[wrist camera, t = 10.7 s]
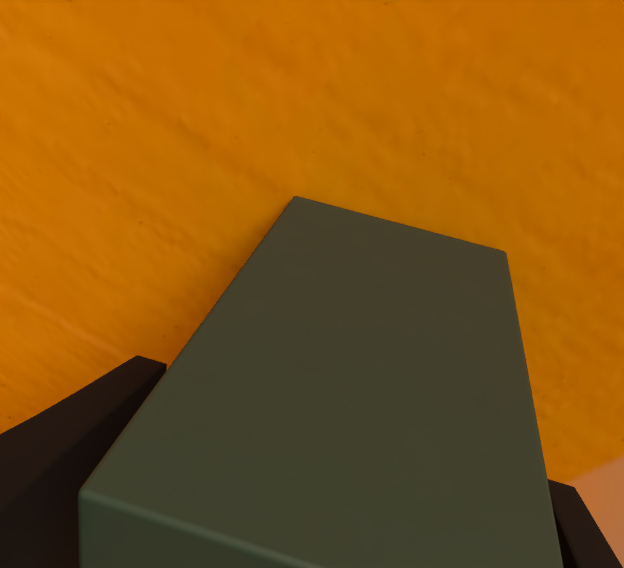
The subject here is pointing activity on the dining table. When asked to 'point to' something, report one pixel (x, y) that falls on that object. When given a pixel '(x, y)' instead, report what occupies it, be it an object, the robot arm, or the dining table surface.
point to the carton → (336, 416)
